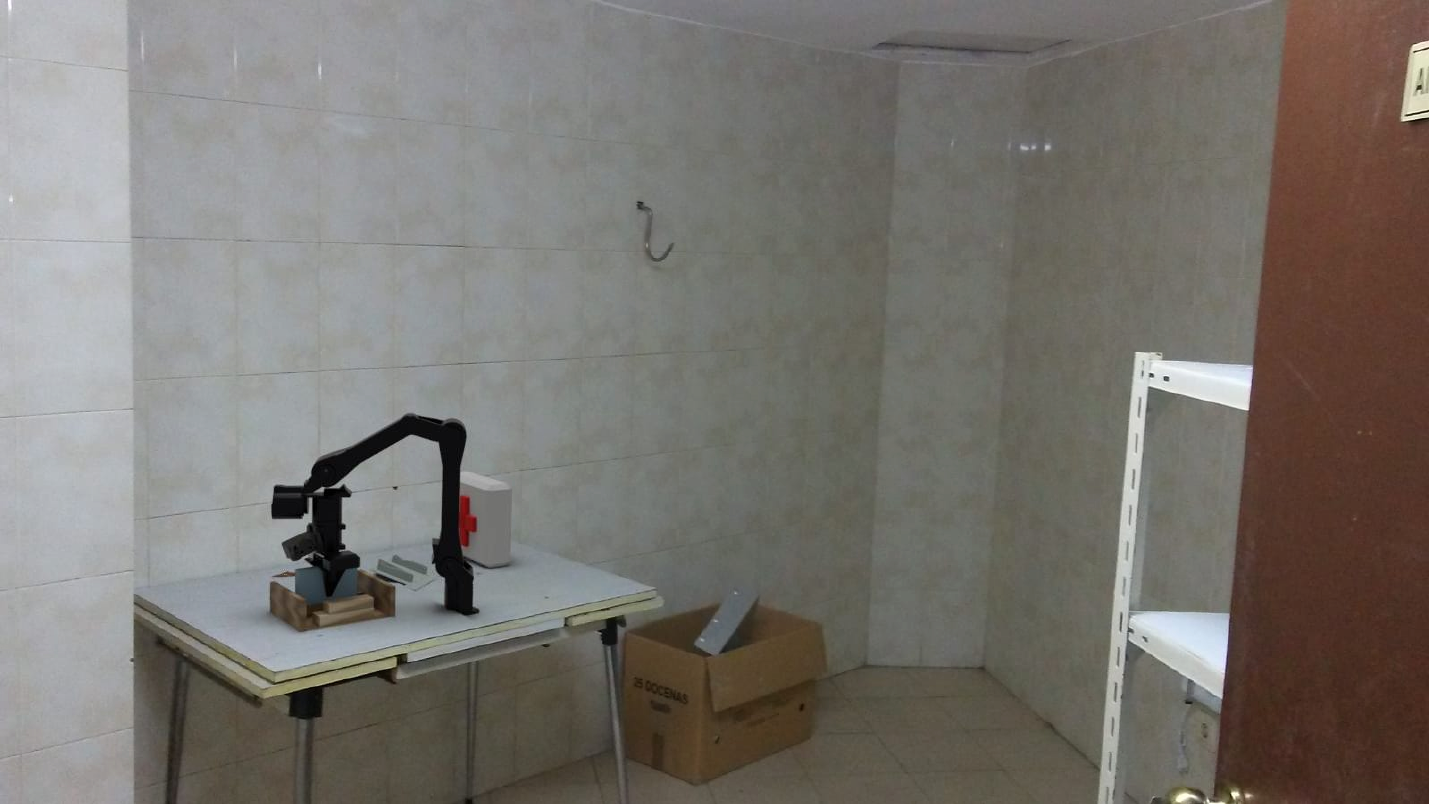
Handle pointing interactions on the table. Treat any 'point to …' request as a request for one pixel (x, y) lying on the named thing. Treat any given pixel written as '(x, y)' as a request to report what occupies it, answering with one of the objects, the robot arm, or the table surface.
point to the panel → (313, 589)
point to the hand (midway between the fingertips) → (326, 595)
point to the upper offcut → (348, 604)
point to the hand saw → (290, 574)
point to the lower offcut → (341, 617)
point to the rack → (301, 614)
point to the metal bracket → (405, 572)
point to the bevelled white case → (485, 519)
